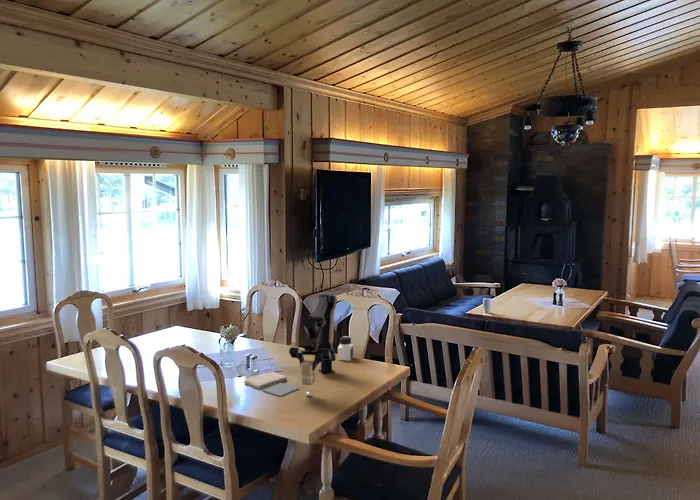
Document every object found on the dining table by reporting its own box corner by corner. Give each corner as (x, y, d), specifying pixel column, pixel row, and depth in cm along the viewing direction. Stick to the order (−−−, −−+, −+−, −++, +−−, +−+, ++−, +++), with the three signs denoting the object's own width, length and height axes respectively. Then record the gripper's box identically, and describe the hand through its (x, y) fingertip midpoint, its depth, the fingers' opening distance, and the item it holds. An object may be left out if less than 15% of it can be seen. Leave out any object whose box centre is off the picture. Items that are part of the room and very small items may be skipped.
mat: (280, 384, 283) (280, 382, 283) (298, 389, 275) (298, 388, 275) (262, 391, 274) (262, 390, 274) (280, 396, 266) (280, 395, 266)
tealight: (304, 394, 268) (304, 392, 268) (310, 393, 269) (310, 391, 269) (306, 397, 265) (306, 394, 265) (312, 395, 267) (312, 393, 266)
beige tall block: (304, 381, 269) (303, 360, 268) (315, 381, 268) (314, 360, 267) (301, 384, 265) (300, 363, 263) (312, 385, 264) (311, 364, 262)
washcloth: (288, 381, 288) (288, 375, 288) (258, 391, 275) (258, 384, 275) (273, 375, 296) (273, 369, 296) (243, 385, 284) (243, 378, 283)
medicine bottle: (350, 360, 317) (350, 339, 315) (337, 360, 318) (337, 338, 317) (353, 356, 324) (352, 335, 322) (340, 356, 325) (340, 335, 324)
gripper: (289, 330, 269) (282, 360, 260) (329, 331, 265) (323, 362, 256) (295, 342, 278) (288, 372, 269) (333, 343, 274) (328, 374, 265)
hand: (306, 370), depth 264 cm, fingers closed on beige tall block, 5 cm apart
